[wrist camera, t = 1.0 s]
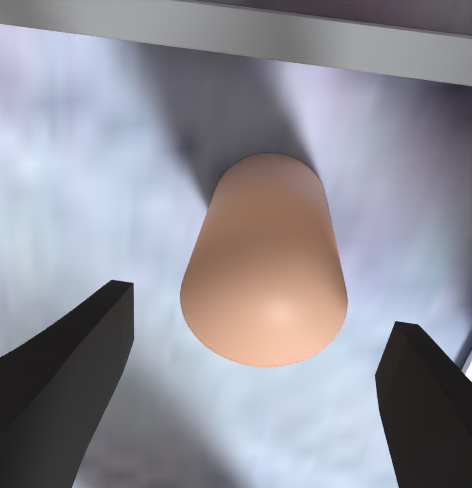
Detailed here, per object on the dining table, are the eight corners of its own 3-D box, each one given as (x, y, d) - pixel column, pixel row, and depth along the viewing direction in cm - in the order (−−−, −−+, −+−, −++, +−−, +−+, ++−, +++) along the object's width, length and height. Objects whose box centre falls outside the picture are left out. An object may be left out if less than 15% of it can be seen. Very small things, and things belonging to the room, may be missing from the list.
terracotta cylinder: (338, 161, 18) (367, 246, 12) (314, 263, 20) (327, 377, 14) (217, 145, 18) (184, 219, 12) (208, 248, 20) (176, 354, 14)
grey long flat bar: (588, 51, 15) (665, 64, 12) (571, 87, 16) (641, 108, 13) (23, -23, 16) (-40, -27, 13) (27, 15, 16) (-32, 19, 13)
